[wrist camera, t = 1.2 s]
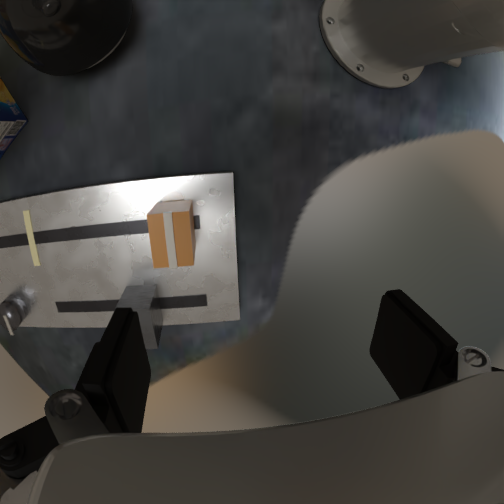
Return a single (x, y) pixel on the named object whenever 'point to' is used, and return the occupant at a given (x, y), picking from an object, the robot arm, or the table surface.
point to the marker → (31, 238)
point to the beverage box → (9, 119)
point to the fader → (172, 234)
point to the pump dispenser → (64, 31)
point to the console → (118, 256)
